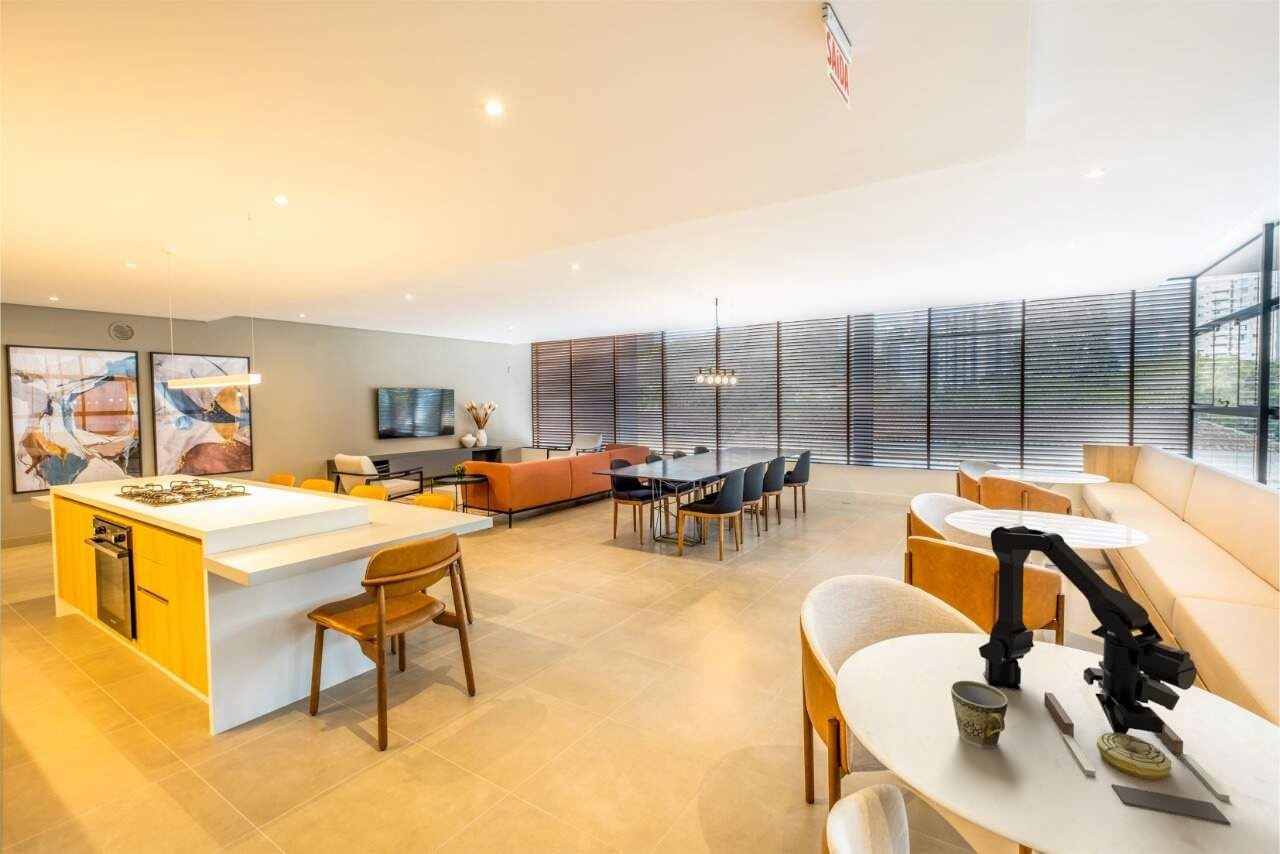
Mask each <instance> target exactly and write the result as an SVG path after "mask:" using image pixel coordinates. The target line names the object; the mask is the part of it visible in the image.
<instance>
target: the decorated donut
mask: <svg viewBox="0 0 1280 854" xmlns="http://www.w3.org/2000/svg"><path fill="white" fill-rule="evenodd" d="M1096 744H1097V750H1098V752H1099V754H1100V756H1101V757H1102V758H1103V759H1104V760H1105V761H1106V762H1107V763H1109V765H1110V766H1113V767H1114V768H1115V769H1116V770H1118V771H1121V772H1123V773H1126V774H1128V775H1129V776H1133V777H1135V778H1138V779H1139V778H1140V779H1142V780H1152V781H1154V780H1159V779H1164V778H1165V777H1167V775H1168V774H1169V773H1171V772H1172V769H1173V768H1172V766H1173V765H1172V763H1173V762H1172V761H1171V759H1170V758H1169V757H1168V756H1167V755H1166V754H1165V753H1164V752H1163V751H1162V750H1161V749H1159V748H1158V747H1157V746H1155V745H1154V744H1152V743H1151V742H1150V743H1149V742H1148V741H1146V740H1143V739H1141V738H1140V737H1136V736H1133V735H1130V734H1128V733H1127V734H1124V733H1114V732H1110V733H1109V732H1107V733H1102V734H1101V735H1099V736H1098V737H1097V743H1096Z"/></svg>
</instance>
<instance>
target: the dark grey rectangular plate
mask: <svg viewBox="0 0 1280 854" xmlns="http://www.w3.org/2000/svg"><path fill="white" fill-rule="evenodd" d="M1111 787H1112V789H1113V791H1114V792H1115V793H1116V795H1117V797H1119V800H1120V801H1121V802H1122V804H1123V805H1128V806H1132V807H1138V808H1142V809H1147V810H1153V811H1158V812H1163V813H1167V814H1168V813H1169V814H1173V815H1179V816H1183V817H1188V818H1194V819H1197V820H1205V821H1209V822H1214V823H1219V824H1224V825H1229V826H1230V825H1231V822H1230V821H1229V820H1228V818H1227V817H1226V816H1225V815H1224V814H1223V813H1222V811H1221V810H1219V809H1218V807H1217V806H1216V805H1215V804H1214V803H1213V802H1211V801H1205V800H1201V799H1200V800H1199V799H1195V798H1194V799H1193V798H1188V797H1184V796H1178V795H1173V794H1167V793H1163V792H1162V793H1161V792H1158V791H1157V792H1156V791H1152V790H1151V791H1149V790H1147V789H1139V788H1135V787H1130V786H1126V785H1125V786H1124V785H1120V784H1115V783H1114V784H1113V783H1111Z"/></svg>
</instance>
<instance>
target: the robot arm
mask: <svg viewBox="0 0 1280 854" xmlns="http://www.w3.org/2000/svg"><path fill="white" fill-rule="evenodd" d="M990 541H991V547H992V548H991V549H992V552H993V553H994V555H995V556H996V558H997V560H998V601H997V602H998V603H997V604H998V607H997V609H998V612H997V613H998V615H997V619H996V621H995V623H994V625H993V626H992V628H991V630H990V636H989V640H988V641H987V643H985V644H983V645H981V646H979V647H978V650H979V655H980V657H981V658H983V659H985V664H984V665H985V670H983V672H982V674H983V677H984V678H985V679H986V682H987V685H990V686H992V687H994V688H1000V689H1001V688H1003V689H1008V690H1015V691H1016V690H1017V691H1020V690H1021V686H1020V685H1022V684H1021V683H1022V682H1021V681H1022V680H1021V679H1022V669H1021V666H1020V664H1019V661H1018V660H1020V659H1021V660H1022V659H1023V658H1024V657H1025V655H1027V654H1029V653H1030V652H1031V650H1032V648H1034V647H1035V644H1034V641H1033V640H1034V639H1033V637H1034V631H1033V630H1032V629H1028V628H1027V626H1026V625H1025V623H1024V620H1023V619H1024V617H1023V616H1024V570H1025V569H1024V565H1025V562H1026V560H1027V558H1028V557H1029V555H1030V553H1031V551H1036V552H1041V553H1042V554H1044V556H1045V557H1046V558H1047V559H1048V560H1049V561H1050V562H1051V563H1052V564H1053V565H1054V566H1055V567H1056V568H1057V569H1058V570H1059V571H1060V572H1061V573H1062V574H1063V575H1064V576H1065V577H1066V578H1067V579H1068V581H1069V582H1071V584H1073V585H1074V587H1075V588H1077V590H1078V591H1079V592H1080V593H1081V594H1082V595H1083V596H1084V598H1086V600H1087V602H1088V605H1089V609H1090V611H1091V613H1092V614H1093V615H1094V617H1095V618H1096V620H1097V621H1098V622H1099V623H1100V626H1099V627H1098V628H1095V629H1092V630H1091V631H1090V632H1091V634H1092V635H1094V636H1097V637H1100V638H1101V639H1103V653H1102V661H1101V660H1098V667H1099V668H1097V667H1092V666H1091V667H1087V668H1085V669H1084V670H1083V680H1084V681H1085V682H1086V683H1087V685H1089V686H1092V685H1094V681H1095V682H1097V685H1098V686H1097V687H1098V688H1099V689H1100V692H1099V693H1095V694H1094V695H1095V697H1096V699H1097V701H1098V703H1099V705H1100V707H1101V709H1102V711H1103V712H1104V715H1105V717H1106V719H1107V721H1108V723H1109V725H1110V728H1111V730H1112V733H1124V734H1127V735H1128V732H1129V730H1130V729H1131V730H1138V731H1144V732H1150V733H1153V732H1155V733H1164V729H1165V723H1166V722H1165V721H1164V720H1163V719H1162V718H1161V717H1160V716H1159V715H1158V714H1157V713H1156V711H1155V710H1154V709H1152V708H1151V707H1150V706H1146V707H1144V705H1143V704H1149V702H1152V703H1154V704H1156V705H1159V706H1162V707H1164V708H1165V709H1166V710H1168V711H1172V712H1173V710H1174V709H1175V707H1176V706H1177V703H1178V702H1179V700H1180V698H1181V696H1180V695H1179V694H1178V693H1176V691H1175V690H1173V689H1172V688H1171V687H1170V686H1168V685H1167V684H1169V685H1171V686H1173V687H1175V688H1178V689H1181V690H1182V691H1183V690H1184V691H1187V690H1189V689H1190V688H1191V687H1192V686H1193V685H1194V683H1195V680H1196V678H1197V674H1198V673H1197V672H1198V670H1197V669H1198V668H1196V664H1195V661H1193V659H1191V653H1190V652H1189V651H1186V650H1184V649H1179V648H1174V647H1172V646H1168V645H1165V644H1163V643H1162V642H1164V639H1163V637H1162V636H1161V634H1160V633H1159V632H1158V630H1157V628H1156V627H1155V626H1154V624H1153V623H1152V622H1151V620H1150V618H1149V617H1150V615H1149V613H1148V611H1147V610H1146V609H1145V608H1144V606H1143V605H1141V604H1140V603H1139V602H1137V601H1136V600H1134V599H1133V598H1132V597H1130V596H1129V595H1128V594H1126V593H1124V592H1122V591H1120V590H1118V589H1116V588H1114V587H1112V586H1111V585H1110V584H1108V583H1107V582H1106V581H1105V580H1104V579H1103V578H1102V577H1101V576H1100V575H1099V574H1098V573H1097V572H1096V571H1095V570H1094V569H1093V568H1092V567H1091V566H1090V565H1089V564H1088V563H1087V562H1086V561H1084V559H1082V557H1080V555H1079V554H1078V553H1076V552H1075V550H1073V548H1072V547H1070V546H1069V544H1067V542H1065V539H1064V538H1063V536H1062V535H1060V534H1058V533H1055V532H1047V531H1045V530H1044V531H1043V530H1041V529H1033V528H1028V527H1026V526H1025V525H1023V524H1020V523H1015V524H1007V525H1003V526H997V527H995V528H994V529H993V530H991V533H990ZM1138 631H1139V632H1140V633H1141V634H1137V635H1134V634H1133V633H1135V632H1138ZM1149 707H1150V708H1151V709H1152V710H1151V709H1150V708H1149ZM1160 718H1161V719H1162V720H1163V721H1164V722H1165V723H1164V722H1163V721H1162V720H1161V719H1160Z"/></svg>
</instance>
